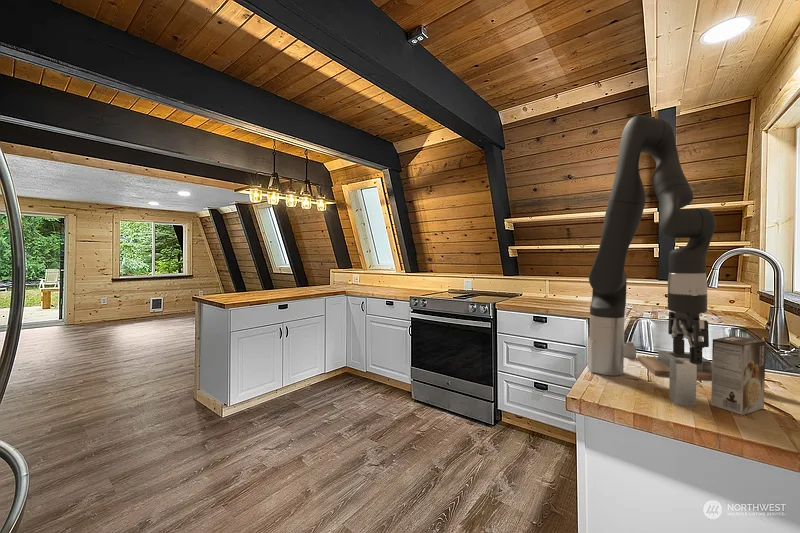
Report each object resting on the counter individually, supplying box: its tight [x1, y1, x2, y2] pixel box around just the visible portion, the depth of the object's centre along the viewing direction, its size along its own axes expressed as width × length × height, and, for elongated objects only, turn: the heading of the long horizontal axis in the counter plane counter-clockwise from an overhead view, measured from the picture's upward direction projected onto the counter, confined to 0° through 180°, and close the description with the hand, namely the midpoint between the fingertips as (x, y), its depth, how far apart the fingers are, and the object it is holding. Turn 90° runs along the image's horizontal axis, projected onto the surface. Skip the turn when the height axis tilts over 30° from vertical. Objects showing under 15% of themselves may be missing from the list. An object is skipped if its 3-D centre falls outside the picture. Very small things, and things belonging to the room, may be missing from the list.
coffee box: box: [710, 335, 767, 416], centre depth 86 cm, size 9×6×16 cm
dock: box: [636, 349, 712, 381], centre depth 114 cm, size 20×16×4 cm
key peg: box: [668, 359, 698, 408], centre depth 89 cm, size 4×4×10 cm
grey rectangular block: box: [624, 341, 637, 359], centre depth 129 cm, size 7×2×8 cm, turn 55°
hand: (686, 358), depth 89 cm, fingers open, 8 cm apart
